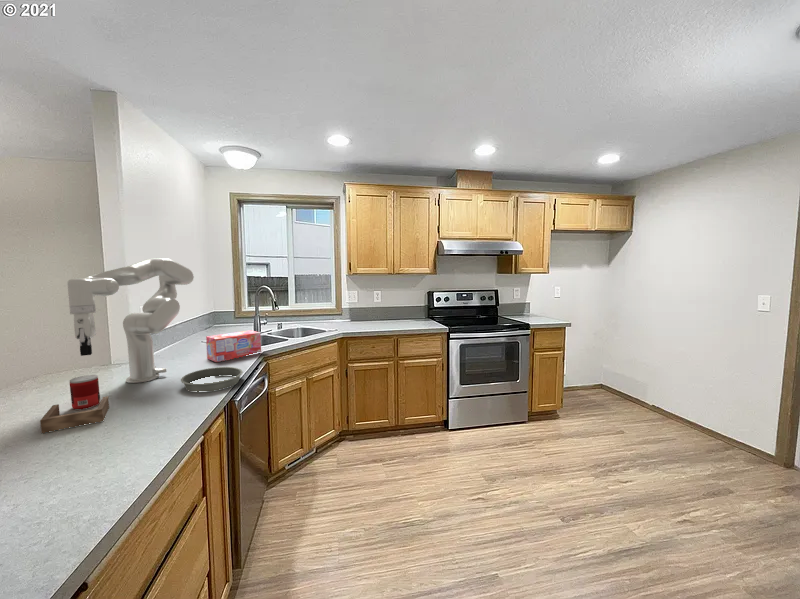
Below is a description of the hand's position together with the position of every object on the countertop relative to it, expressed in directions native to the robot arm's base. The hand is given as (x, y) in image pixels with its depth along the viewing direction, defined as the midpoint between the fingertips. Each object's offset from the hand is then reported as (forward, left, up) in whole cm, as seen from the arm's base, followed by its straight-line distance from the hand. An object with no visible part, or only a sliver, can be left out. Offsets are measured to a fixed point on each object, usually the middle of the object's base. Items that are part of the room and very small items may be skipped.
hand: (86, 354), depth 136 cm
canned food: (0, +10, -18) cm, 21 cm away
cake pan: (-43, +9, -18) cm, 48 cm away
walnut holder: (0, +24, -18) cm, 30 cm away
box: (-59, -36, -18) cm, 71 cm away
